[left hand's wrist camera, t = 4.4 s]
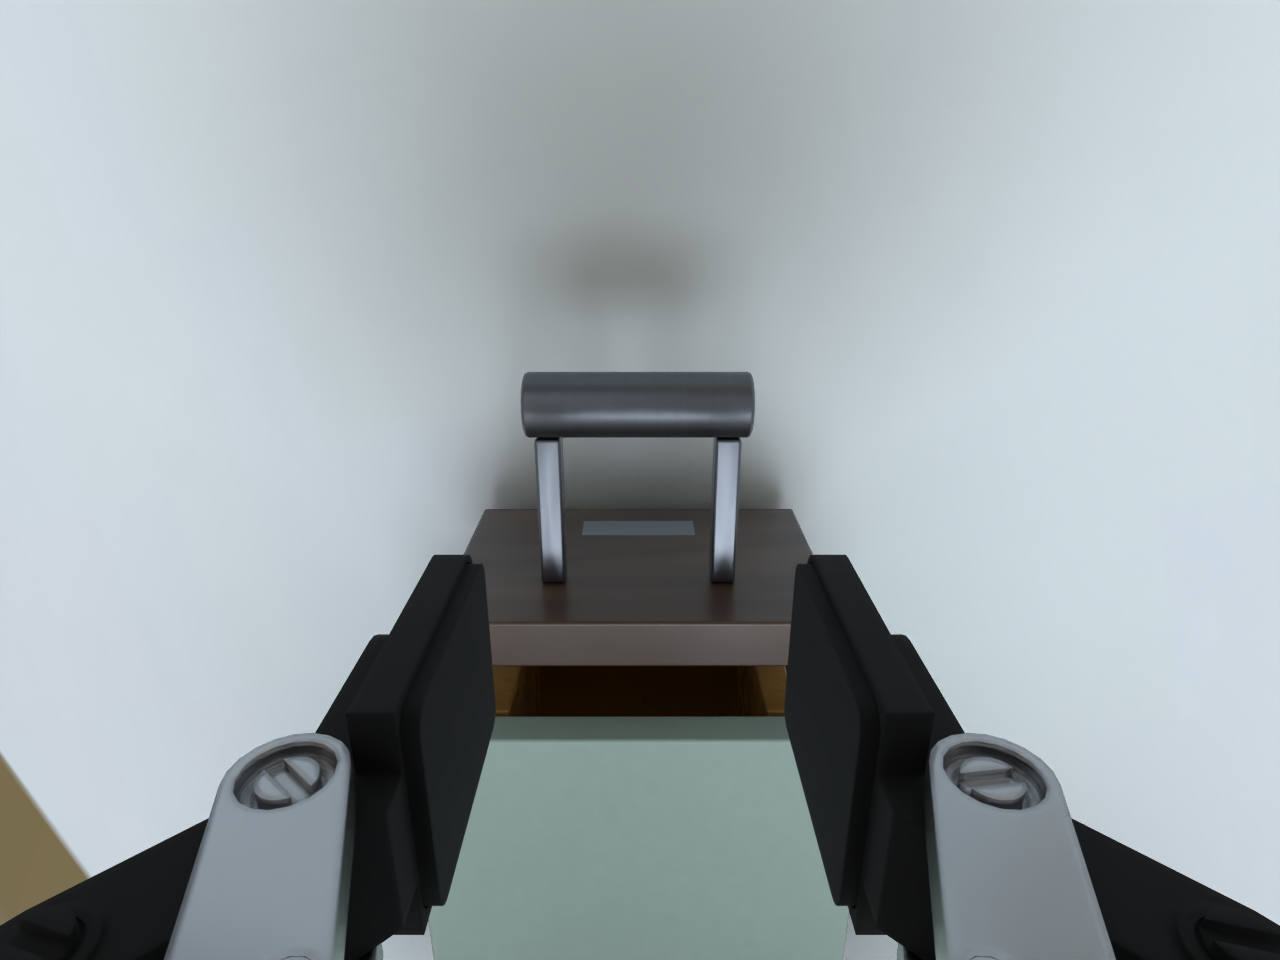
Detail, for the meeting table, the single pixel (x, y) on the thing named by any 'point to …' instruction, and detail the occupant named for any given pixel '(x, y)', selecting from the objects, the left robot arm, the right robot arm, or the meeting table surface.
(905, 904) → the left robot arm
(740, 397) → the drawer
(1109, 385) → the meeting table surface
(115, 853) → the meeting table surface
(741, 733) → the cabinet
